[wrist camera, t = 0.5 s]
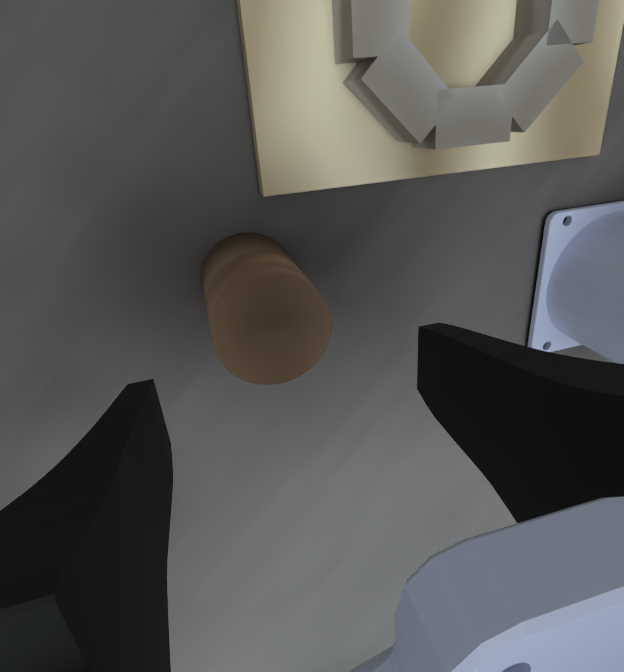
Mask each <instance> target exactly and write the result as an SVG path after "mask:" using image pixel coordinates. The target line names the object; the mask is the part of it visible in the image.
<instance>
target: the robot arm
mask: <svg viewBox="0 0 624 672" xmlns="http://www.w3.org/2000/svg"><path fill="white" fill-rule="evenodd" d="M565 217H566V221H565V222H564V223H563V220H564V218H565ZM545 343H546V344H545ZM544 344H545V345H544ZM543 345H544V346H543ZM580 345H584V346H585V347H587V348H589V349H591V350H593V351H594V352H596V353H598V354H600V355H602V356H604V357H605V358H607V359H609V360H611V361H613V362H614V363H610V362H602V361H595V360H588V359H582V358H577V357H571V356H566V355H560V354H555V353H551V352H553V351H557V350H562V349H566V348H571V347H575V346H580ZM417 389H418V391H419V393H420V394H421V396H422V398H423V400H424V401H425V403H426V405H427V406H428V408H429V409H430V411H431V412H432V414H433V415H434V417H435V418H436V419H437V420H438V422H439V423H440V424H441V425H442V426H443V428H444V429H445V430H446V431H447V432H448V434H449V435H450V436H451V437H452V438H453V439H454V441H455V442H456V443H457V444H458V445H459V446H460V448H461V449H462V450H463V451H464V452H465V453H466V455H467V456H468V457H469V458H470V459H471V460H472V462H473V463H474V464H475V465H476V466H477V467H478V468H479V470H480V471H481V472H482V473H483V475H484V476H485V477H486V478H487V480H488V481H489V482H490V483H491V485H492V486H493V488H494V489H495V491H496V492H497V493H498V495H499V496H500V498H501V499H502V501H503V502H504V504H505V505H506V507H507V508H508V510H509V511H510V512H511V514H512V515H513V517H514V519H515V520H516V522H517V524H514V525H511V526H507V527H504V528H501V529H497V530H494V531H491V532H488V533H484V534H481V535H478V536H474V537H471V538H468V539H464V540H462V541H460V542H458V543H456V544H454V545H452V546H450V547H448V548H446V549H444V550H442V551H440V552H438V553H436V554H434V555H432V556H430V557H429V558H428V559H427V560H426V561H425V562H424V563H423V564H422V565H421V566H420V567H419V568H418V569H417V570H416V571H415V572H414V574H413V575H412V576H411V577H410V578H409V579H408V580H407V581H406V584H405V586H404V589H403V592H402V594H401V597H400V600H399V603H398V606H397V609H396V612H395V642H394V646H392V647H390V648H388V649H387V650H385V651H383V652H381V653H380V654H378V655H376V656H374V657H373V658H371V659H369V660H368V661H366V662H364V663H362V664H361V665H359V666H357V667H355V668H354V669H352V670H350V671H349V672H624V201H618V202H611V203H604V204H598V205H591V206H584V207H578V208H571V209H565V210H558V211H554V212H552V213H550V214H549V215H548V217H547V218H546V221H545V227H544V234H543V241H542V248H541V255H540V262H539V269H538V276H537V283H536V290H535V297H534V304H533V311H532V318H531V325H530V332H529V339H528V346H527V347H526V346H522V345H519V344H515V343H511V342H508V341H504V340H501V339H498V338H494V337H491V336H487V335H484V334H481V333H477V332H474V331H471V330H467V329H464V328H460V327H456V326H453V325H448V324H443V323H435V324H430V325H425V326H420V327H419V333H418V376H417ZM172 489H173V467H172V452H171V443H170V439H169V435H168V432H167V428H166V424H165V420H164V417H163V413H162V409H161V406H160V402H159V398H158V395H157V391H156V387H155V383H154V380H153V379H151V380H146V381H141V382H136V383H131V384H128V385H127V386H126V387H125V388H124V389H123V390H122V392H121V393H120V394H119V396H118V397H117V398H116V399H115V401H114V402H113V403H112V404H111V406H110V407H109V408H108V409H107V411H106V412H105V413H104V414H103V415H102V417H101V418H100V419H99V420H98V421H97V423H96V424H95V425H94V426H93V427H92V429H91V430H90V431H89V432H88V433H87V434H86V435H85V436H84V437H83V438H82V439H81V440H80V442H79V443H78V444H77V445H76V446H75V447H74V448H73V449H72V450H71V451H70V452H69V453H68V454H67V455H66V456H65V457H64V458H63V459H62V460H61V461H60V462H59V463H58V464H57V465H56V466H55V467H54V468H53V469H52V470H51V471H49V472H48V473H47V474H46V475H45V476H44V477H43V478H41V479H40V480H39V481H38V482H37V483H36V484H35V485H33V486H32V487H31V488H30V489H28V490H27V491H26V492H25V493H23V494H22V495H21V496H19V497H18V498H17V499H15V500H14V501H13V502H11V503H10V504H9V505H7V506H6V507H5V508H3V509H2V510H1V511H0V672H171V669H170V648H169V626H168V599H167V556H168V542H169V529H170V516H171V503H172Z"/></svg>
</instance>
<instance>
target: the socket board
mask: <svg viewBox="0 0 624 672" xmlns="http://www.w3.org/2000/svg"><path fill="white" fill-rule="evenodd" d="M236 2H237V10H238V18H239V26H240V34H241V42H242V50H243V58H244V67H245V75H246V83H247V91H248V99H249V107H250V115H251V123H252V131H253V139H254V148H255V156H256V164H257V172H258V180H259V188H260V194H261V195H262V196H263V197H265V196H273V195H281V194H289V193H297V192H305V191H313V190H321V189H329V188H337V187H345V186H353V185H361V184H369V183H377V182H385V181H393V180H401V179H409V178H417V177H425V176H433V175H441V174H449V173H457V172H465V171H473V170H481V169H489V168H497V167H505V166H513V165H521V164H529V163H537V162H545V161H553V160H561V159H569V158H577V157H585V156H593V155H599V154H600V149H601V143H602V138H603V132H604V127H605V121H606V116H607V110H608V105H609V99H610V94H611V88H612V83H613V77H614V72H615V67H616V61H617V56H618V50H619V45H620V39H621V34H622V28H623V23H624V0H236Z"/></svg>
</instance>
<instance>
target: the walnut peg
mask: <svg viewBox="0 0 624 672" xmlns="http://www.w3.org/2000/svg"><path fill="white" fill-rule="evenodd" d="M202 286H203V291H204V297H205V303H206V308H207V314H208V320H209V325H210V331H211V337H212V342H213V346H214V350H215V352H216V355H217V357H218V359H219V360H220V362H221V363H222V364H223V366H224V367H225V368H226V369H227V370H228V371H229V372H231V373H232V374H233V375H235V376H236V377H238V378H240V379H242V380H244V381H247V382H250V383H255V384H263V385H271V384H279V383H283V382H287V381H290V380H292V379H295V378H296V377H298V376H300V375H302V374H303V373H305V372H306V371H308V370H309V369H310V368H311V367H312V366H313V365H314V364H315V363H316V362H317V361H318V360H319V358H320V357H321V356H322V354H323V352H324V351H325V349H326V346H327V344H328V341H329V338H330V333H331V316H330V312H329V308H328V306H327V303H326V301H325V300H324V298H323V296H322V295H321V294H320V293H319V291H318V290H317V289H316V288H315V287H314V285H313V284H312V283H311V282H310V281H309V279H308V278H307V277H306V276H305V275H304V274H303V272H302V271H301V270H300V269H299V268H298V266H297V265H296V264H295V263H294V262H293V261H292V259H291V258H290V257H289V256H288V255H287V253H286V252H285V251H284V250H283V249H282V248H281V246H280V245H279V244H277V243H276V242H275V241H274V240H272V239H271V238H268V237H266V236H264V235H261V234H257V233H239V234H235V235H232V236H229V237H227V238H225V239H223V240H222V241H220V242H219V243H218V244H217V245H216V246H214V248H213V249H212V250H211V251H210V252H209V254H208V256H207V257H206V260H205V262H204V265H203V269H202Z"/></svg>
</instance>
